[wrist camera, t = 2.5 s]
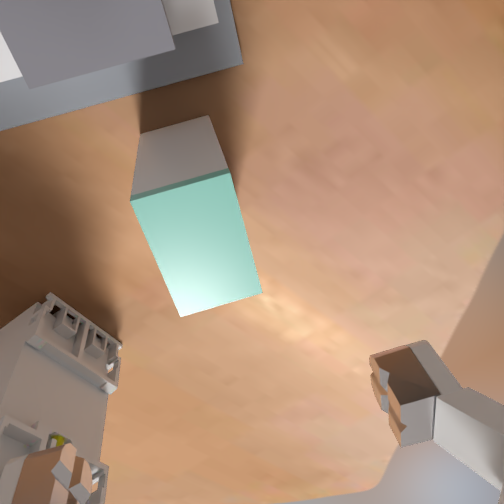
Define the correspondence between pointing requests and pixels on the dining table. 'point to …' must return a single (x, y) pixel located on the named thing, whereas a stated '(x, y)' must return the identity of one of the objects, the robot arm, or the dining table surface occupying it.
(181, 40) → the rail assembly
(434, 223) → the dining table surface
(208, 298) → the block
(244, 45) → the dining table surface
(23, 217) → the dining table surface
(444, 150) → the dining table surface
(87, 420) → the circuit breaker
